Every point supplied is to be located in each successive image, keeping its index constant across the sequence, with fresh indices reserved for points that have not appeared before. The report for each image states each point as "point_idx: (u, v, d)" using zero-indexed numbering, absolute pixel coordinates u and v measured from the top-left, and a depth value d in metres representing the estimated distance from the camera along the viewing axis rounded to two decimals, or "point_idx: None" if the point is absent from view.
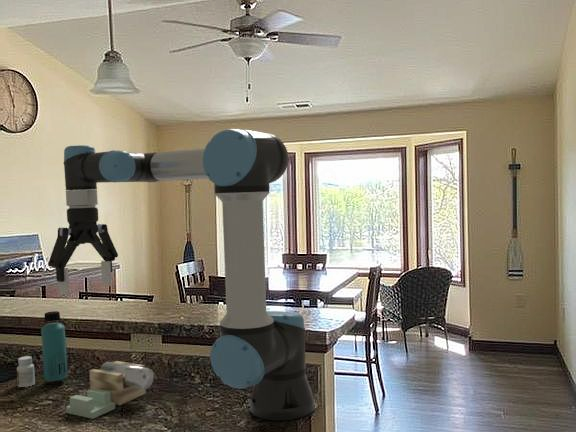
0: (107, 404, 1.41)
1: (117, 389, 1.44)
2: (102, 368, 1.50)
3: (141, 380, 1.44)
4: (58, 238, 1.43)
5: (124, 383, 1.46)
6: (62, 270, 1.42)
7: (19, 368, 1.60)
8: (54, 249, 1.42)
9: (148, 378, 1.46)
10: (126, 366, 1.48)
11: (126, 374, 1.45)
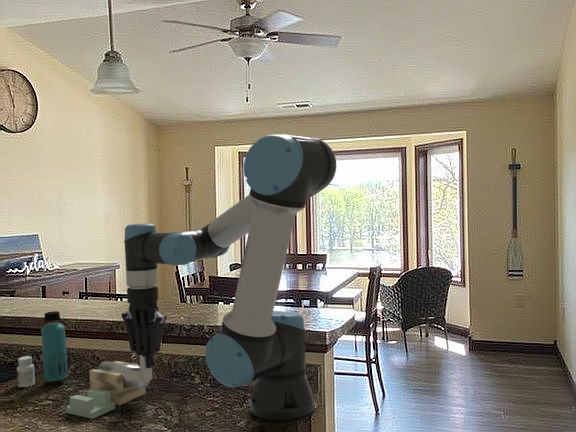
0: (107, 404, 1.41)
1: (117, 389, 1.44)
2: (100, 367, 1.50)
3: (139, 380, 1.44)
4: None
5: None
6: None
7: (19, 368, 1.60)
8: None
9: None
10: (123, 366, 1.48)
11: (123, 373, 1.46)
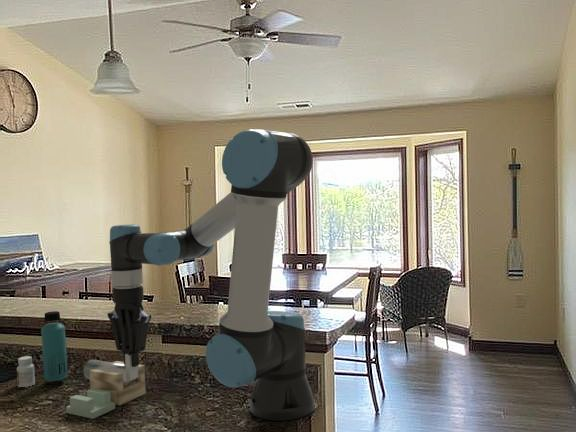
0: (107, 404, 1.41)
1: (117, 389, 1.44)
2: (86, 366, 1.53)
3: (124, 377, 1.46)
4: None
5: None
6: None
7: (19, 368, 1.60)
8: None
9: None
10: (110, 364, 1.50)
11: (109, 371, 1.48)
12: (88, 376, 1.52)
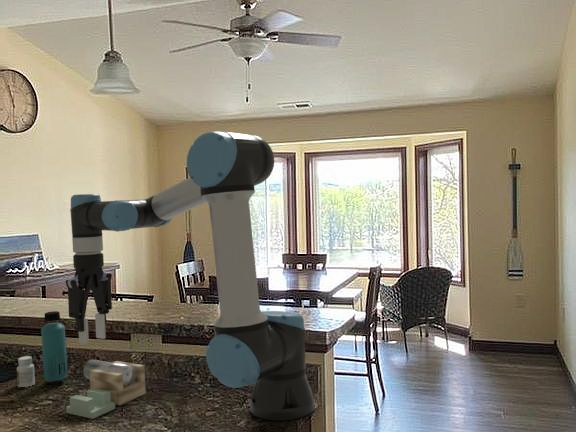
0: (107, 404, 1.41)
1: (117, 389, 1.44)
2: (86, 366, 1.53)
3: (124, 377, 1.46)
4: (69, 290, 1.48)
5: None
6: (82, 321, 1.50)
7: (19, 368, 1.60)
8: (69, 302, 1.48)
9: (131, 375, 1.48)
10: (110, 364, 1.50)
11: (109, 371, 1.48)
12: (88, 376, 1.52)
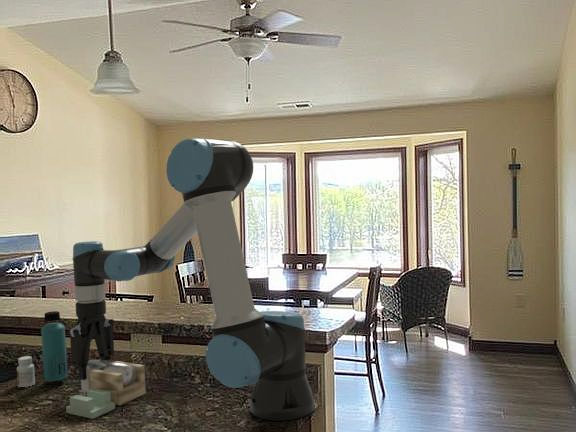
0: (107, 404, 1.41)
1: (117, 389, 1.44)
2: None
3: (124, 377, 1.46)
4: (71, 339, 1.49)
5: None
6: (84, 369, 1.51)
7: (19, 368, 1.60)
8: (71, 350, 1.49)
9: (131, 375, 1.48)
10: (110, 363, 1.50)
11: (109, 371, 1.48)
12: None
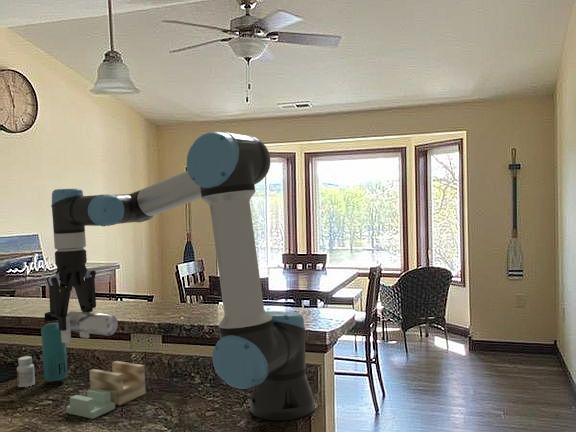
0: (107, 404, 1.41)
1: (117, 389, 1.44)
2: None
3: (104, 326, 1.41)
4: (50, 288, 1.44)
5: (87, 330, 1.44)
6: (64, 319, 1.45)
7: (19, 368, 1.60)
8: (50, 300, 1.44)
9: (112, 325, 1.43)
10: (90, 314, 1.45)
11: (89, 321, 1.43)
12: None
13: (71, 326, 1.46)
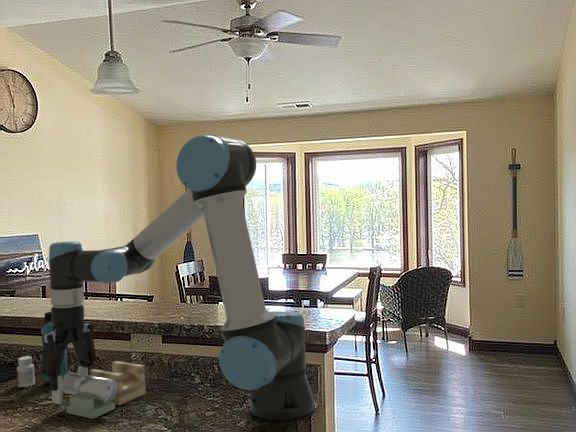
0: (107, 404, 1.41)
1: None
2: (64, 379, 1.42)
3: (104, 392, 1.36)
4: (44, 345, 1.37)
5: (86, 395, 1.39)
6: (55, 379, 1.39)
7: (19, 368, 1.60)
8: (43, 358, 1.37)
9: (112, 390, 1.38)
10: (89, 377, 1.40)
11: (88, 386, 1.38)
12: (66, 390, 1.42)
13: (68, 389, 1.41)
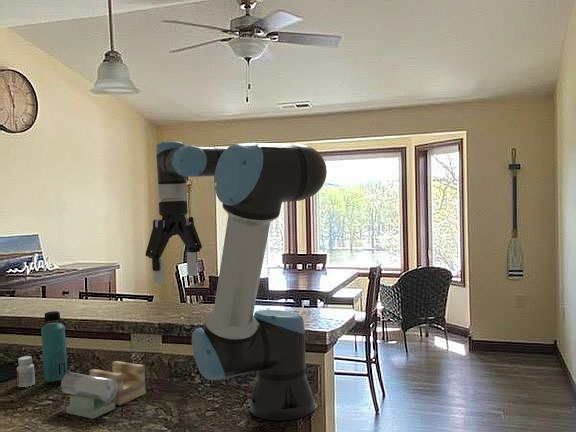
0: (107, 404, 1.41)
1: None
2: (64, 379, 1.42)
3: (104, 392, 1.36)
4: (154, 229, 1.50)
5: (86, 395, 1.39)
6: (158, 260, 1.50)
7: (19, 368, 1.60)
8: (150, 240, 1.49)
9: (112, 390, 1.38)
10: (89, 377, 1.40)
11: (88, 386, 1.38)
12: (66, 390, 1.42)
13: (68, 389, 1.41)
